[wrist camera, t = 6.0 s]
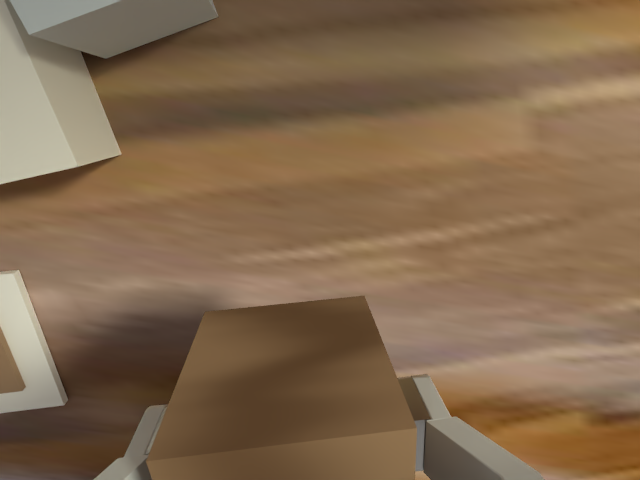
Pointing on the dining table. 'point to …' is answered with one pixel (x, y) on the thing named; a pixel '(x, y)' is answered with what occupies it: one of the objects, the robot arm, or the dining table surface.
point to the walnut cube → (287, 399)
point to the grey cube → (110, 21)
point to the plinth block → (46, 106)
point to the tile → (24, 353)
